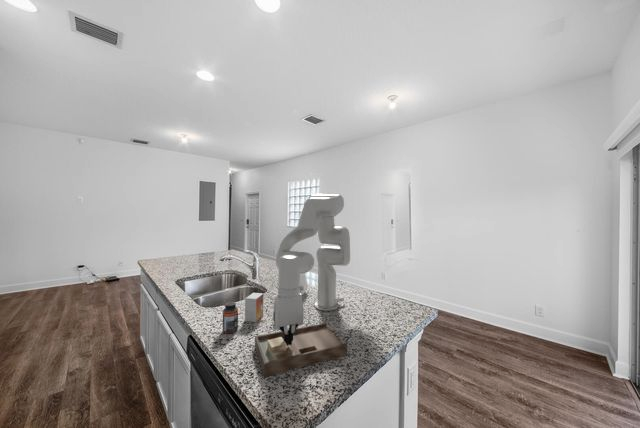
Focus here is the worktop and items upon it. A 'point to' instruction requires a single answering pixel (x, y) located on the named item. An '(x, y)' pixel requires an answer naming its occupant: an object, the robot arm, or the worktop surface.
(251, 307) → the small box
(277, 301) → the robot arm
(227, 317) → the supplement bottle
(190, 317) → the worktop surface
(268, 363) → the box
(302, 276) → the cup
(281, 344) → the maple block
